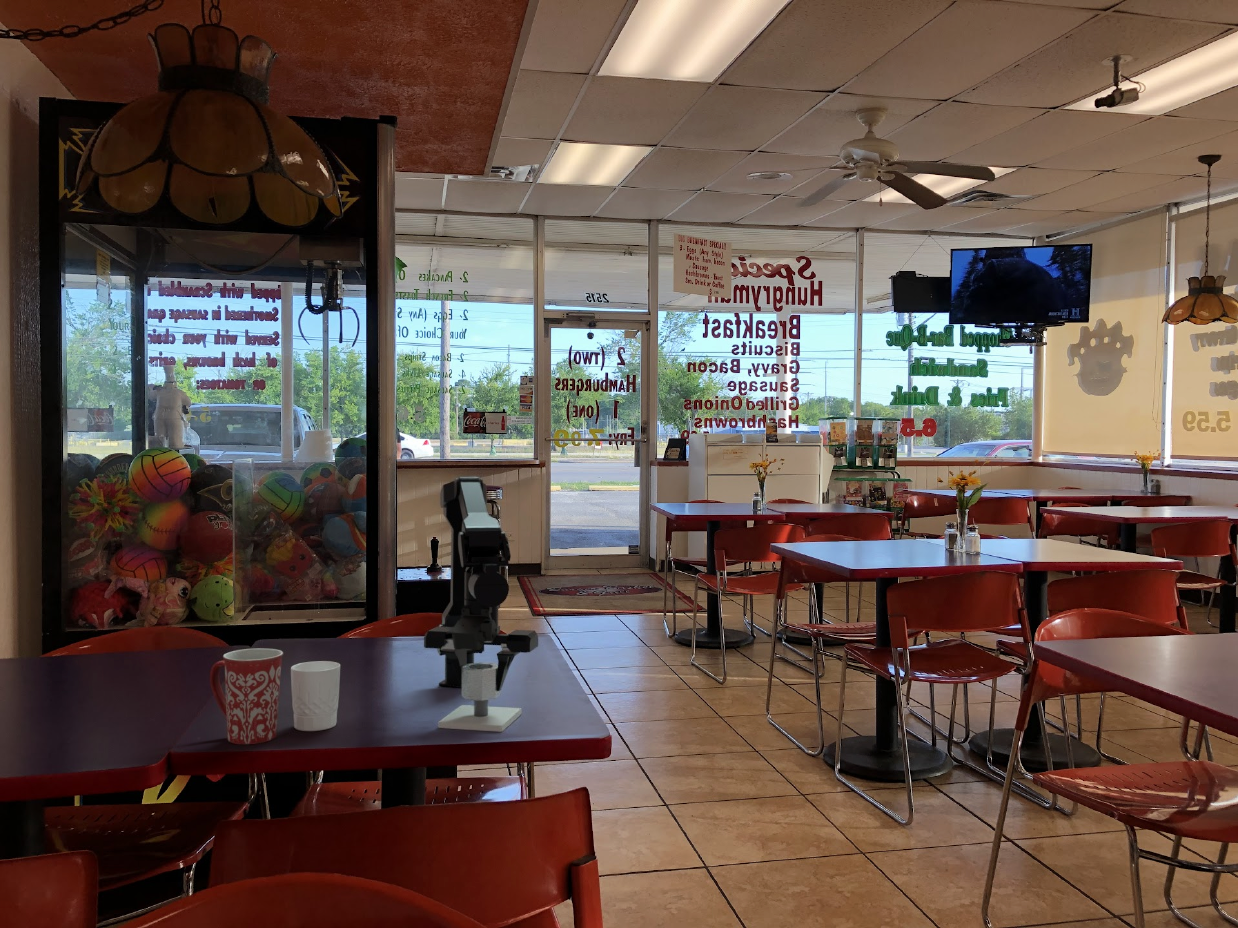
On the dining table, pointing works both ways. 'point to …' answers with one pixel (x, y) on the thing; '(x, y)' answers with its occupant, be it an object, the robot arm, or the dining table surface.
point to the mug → (249, 693)
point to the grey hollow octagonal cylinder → (479, 681)
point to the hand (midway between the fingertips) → (481, 689)
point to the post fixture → (480, 717)
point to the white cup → (315, 694)
